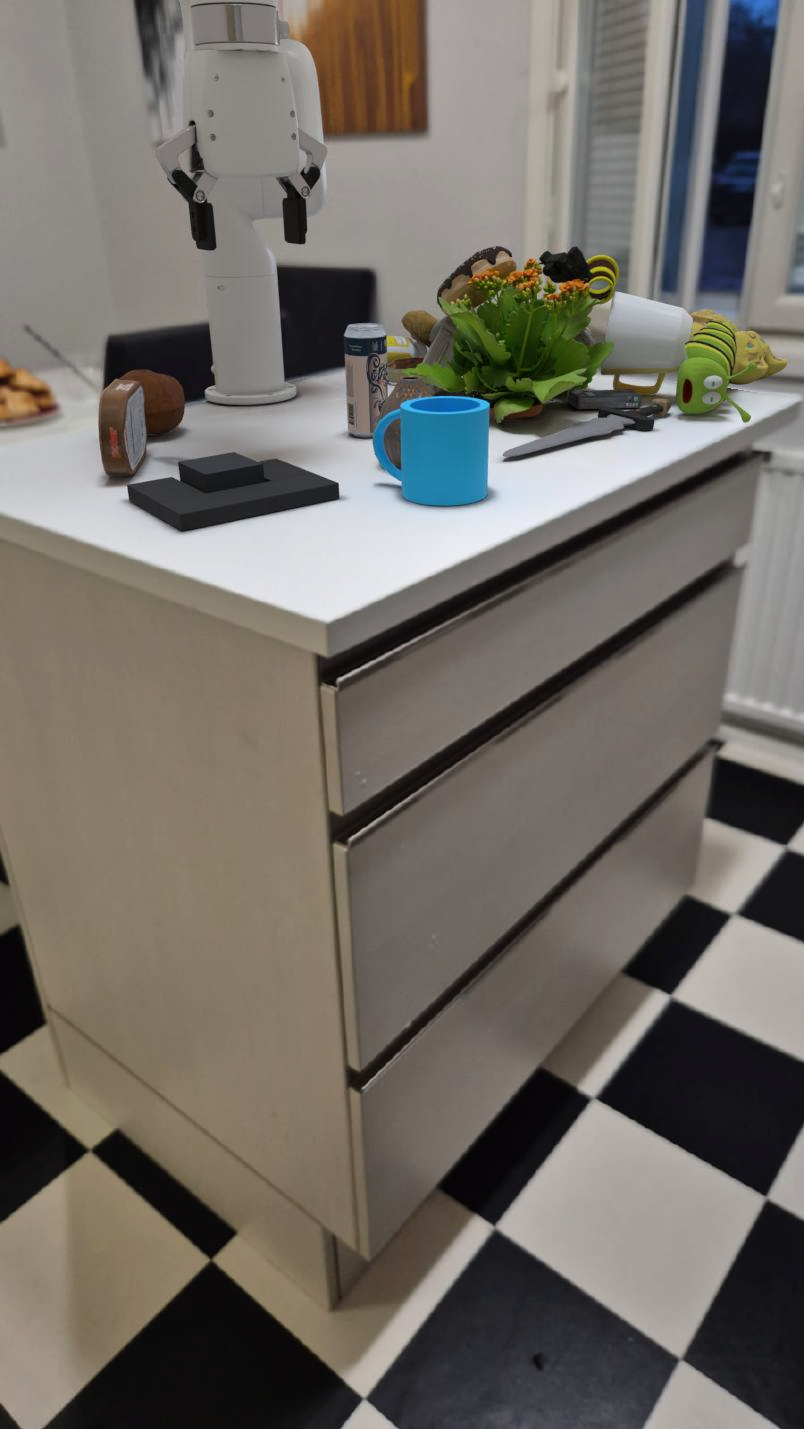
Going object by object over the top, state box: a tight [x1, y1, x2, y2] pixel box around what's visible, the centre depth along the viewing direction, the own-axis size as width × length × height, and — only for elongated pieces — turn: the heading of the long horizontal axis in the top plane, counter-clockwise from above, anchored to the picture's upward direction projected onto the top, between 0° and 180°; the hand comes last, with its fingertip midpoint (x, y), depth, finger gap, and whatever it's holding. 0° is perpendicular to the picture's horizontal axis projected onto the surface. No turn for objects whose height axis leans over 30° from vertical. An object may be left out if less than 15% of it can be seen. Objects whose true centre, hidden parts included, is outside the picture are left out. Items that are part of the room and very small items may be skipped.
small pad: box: [177, 451, 265, 494], centre depth 94 cm, size 6×6×3 cm
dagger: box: [502, 398, 672, 458], centre depth 113 cm, size 8×32×2 cm, turn 143°
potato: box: [118, 369, 186, 436], centre depth 116 cm, size 8×11×8 cm
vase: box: [378, 376, 434, 469], centre depth 101 cm, size 7×7×9 cm
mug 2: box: [600, 290, 693, 396], centre depth 129 cm, size 14×10×10 cm
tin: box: [97, 378, 148, 477], centre depth 103 cm, size 15×3×8 cm, turn 5°
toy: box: [675, 320, 757, 424], centre depth 127 cm, size 8×28×10 cm
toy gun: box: [538, 245, 593, 284], centre depth 123 cm, size 20×3×6 cm
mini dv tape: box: [567, 389, 642, 410], centre depth 128 cm, size 8×2×6 cm
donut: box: [436, 245, 518, 316], centre depth 126 cm, size 11×12×4 cm
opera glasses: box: [558, 254, 620, 318], centre depth 127 cm, size 10×5×5 cm
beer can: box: [343, 322, 389, 438], centre depth 113 cm, size 5×5×12 cm
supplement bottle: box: [387, 335, 428, 364], centre depth 150 cm, size 5×5×10 cm
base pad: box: [126, 457, 340, 532], centre depth 93 cm, size 12×16×2 cm
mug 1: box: [372, 395, 490, 507], centre depth 93 cm, size 12×8×8 cm
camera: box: [422, 305, 480, 397], centre depth 136 cm, size 11×6×10 cm
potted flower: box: [402, 258, 614, 424], centre depth 122 cm, size 25×24×18 cm
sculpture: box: [400, 309, 439, 349], centre depth 154 cm, size 13×4×15 cm
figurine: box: [689, 308, 788, 386], centre depth 139 cm, size 11×9×15 cm
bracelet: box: [387, 356, 425, 384], centre depth 146 cm, size 9×9×3 cm
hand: (252, 246), depth 96 cm, fingers open, 9 cm apart
